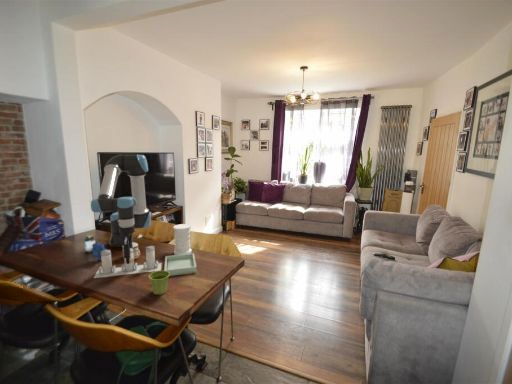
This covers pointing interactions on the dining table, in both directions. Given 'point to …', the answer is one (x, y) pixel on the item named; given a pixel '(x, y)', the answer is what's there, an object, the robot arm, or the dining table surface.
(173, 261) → the tray
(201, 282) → the dining table surface
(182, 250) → the decorative container
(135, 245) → the teacup with lid
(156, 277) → the plant pot
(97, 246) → the grapes
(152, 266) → the block
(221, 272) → the dining table surface
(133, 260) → the cylinder
